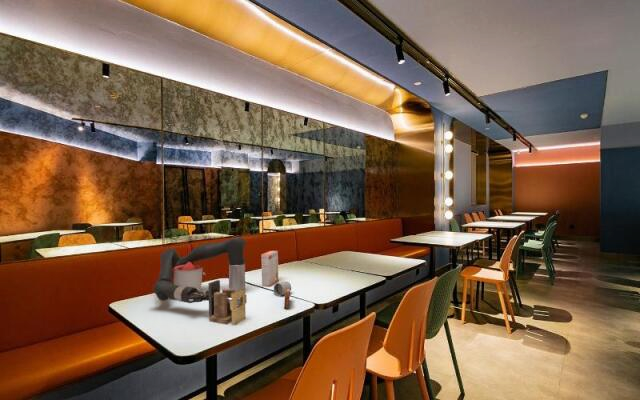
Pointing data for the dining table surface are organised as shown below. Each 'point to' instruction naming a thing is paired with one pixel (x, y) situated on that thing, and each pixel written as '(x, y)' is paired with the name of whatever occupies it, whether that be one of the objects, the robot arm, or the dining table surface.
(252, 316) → the dining table surface
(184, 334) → the dining table surface
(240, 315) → the tan wooden flat panel
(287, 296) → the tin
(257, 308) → the dining table surface
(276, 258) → the cracker box
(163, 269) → the robot arm
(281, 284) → the ceramic mug
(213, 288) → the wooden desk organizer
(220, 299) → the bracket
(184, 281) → the citrus juicer
